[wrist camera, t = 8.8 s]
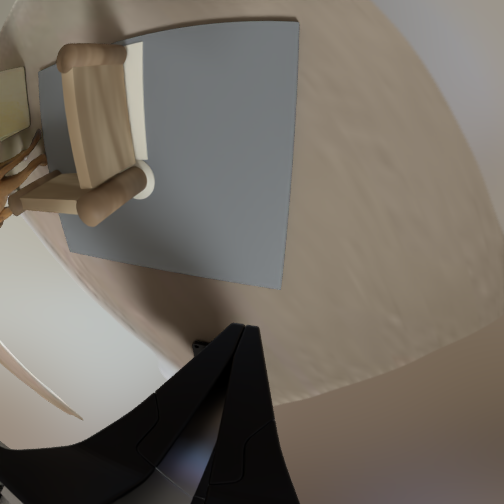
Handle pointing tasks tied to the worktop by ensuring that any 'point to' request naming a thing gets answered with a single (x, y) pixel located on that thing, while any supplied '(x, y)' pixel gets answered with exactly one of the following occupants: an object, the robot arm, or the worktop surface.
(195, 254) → the board
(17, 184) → the lion figurine
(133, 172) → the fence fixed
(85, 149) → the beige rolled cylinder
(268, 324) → the worktop surface
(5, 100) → the toy refrigerator
